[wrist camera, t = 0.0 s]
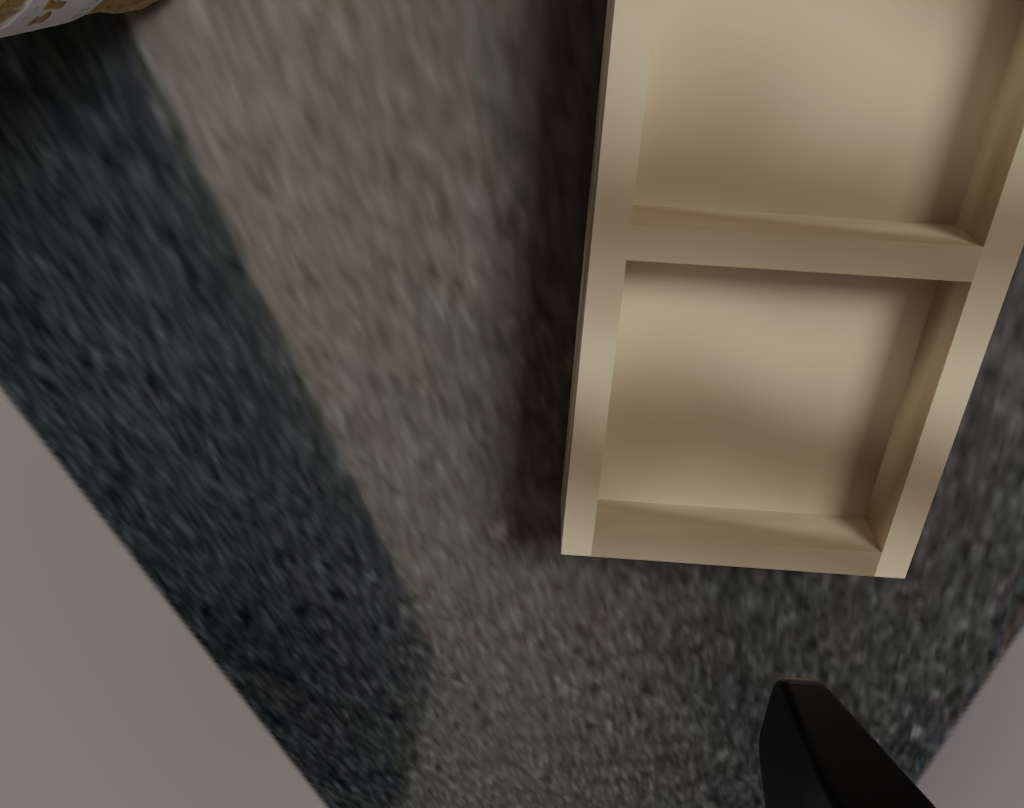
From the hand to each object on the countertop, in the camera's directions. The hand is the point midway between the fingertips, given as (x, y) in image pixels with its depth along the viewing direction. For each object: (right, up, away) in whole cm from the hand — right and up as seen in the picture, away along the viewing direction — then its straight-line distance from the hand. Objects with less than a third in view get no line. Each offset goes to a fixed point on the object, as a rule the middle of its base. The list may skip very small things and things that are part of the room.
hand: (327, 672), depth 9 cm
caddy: (+8, +7, +12) cm, 17 cm away
